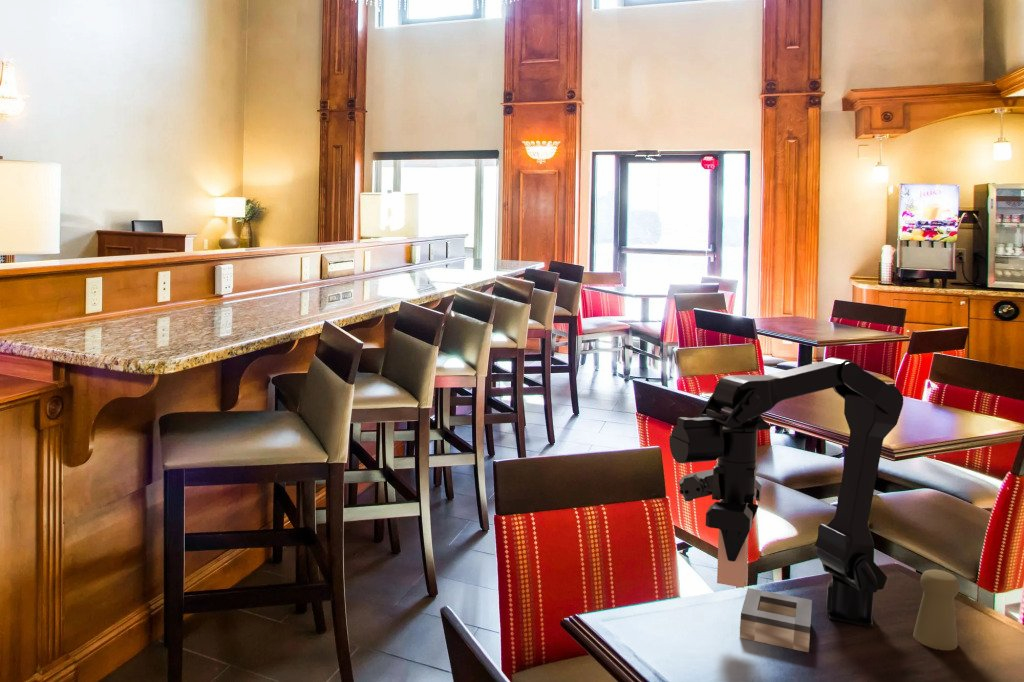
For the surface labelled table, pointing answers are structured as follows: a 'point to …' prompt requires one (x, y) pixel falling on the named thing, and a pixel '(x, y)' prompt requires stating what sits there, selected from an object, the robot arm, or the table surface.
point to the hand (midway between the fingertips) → (733, 555)
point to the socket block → (776, 619)
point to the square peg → (732, 565)
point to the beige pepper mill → (937, 611)
